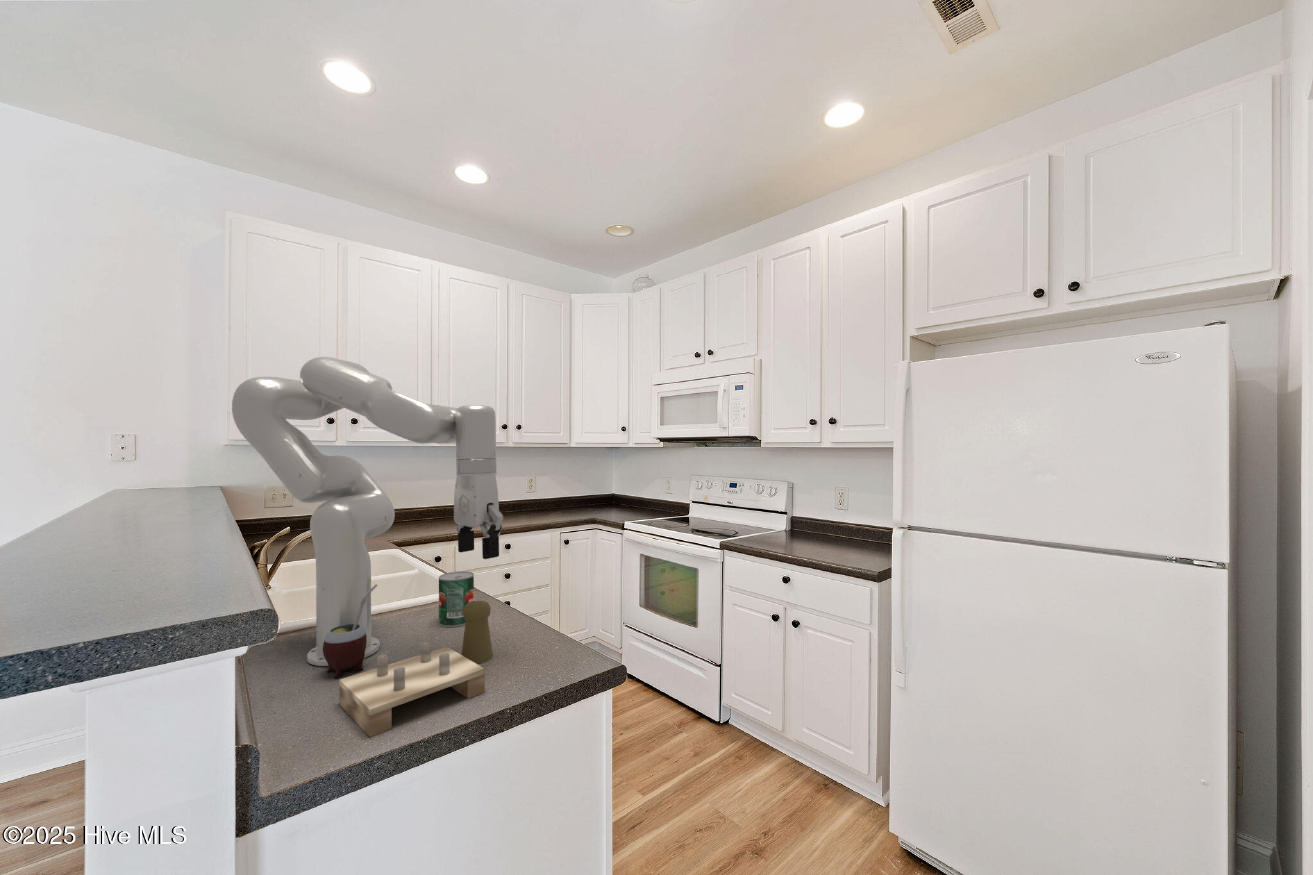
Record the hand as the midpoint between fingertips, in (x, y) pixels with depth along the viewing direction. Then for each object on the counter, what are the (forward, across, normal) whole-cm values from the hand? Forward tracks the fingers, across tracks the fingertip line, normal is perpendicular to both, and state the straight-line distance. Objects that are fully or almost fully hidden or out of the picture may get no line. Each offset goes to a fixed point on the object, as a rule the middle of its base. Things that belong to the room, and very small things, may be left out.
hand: (478, 554), depth 102 cm
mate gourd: (+20, -14, -19) cm, 31 cm away
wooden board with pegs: (+20, +6, -15) cm, 26 cm away
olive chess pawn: (+21, 0, 0) cm, 21 cm away
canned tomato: (+20, -24, +7) cm, 32 cm away
